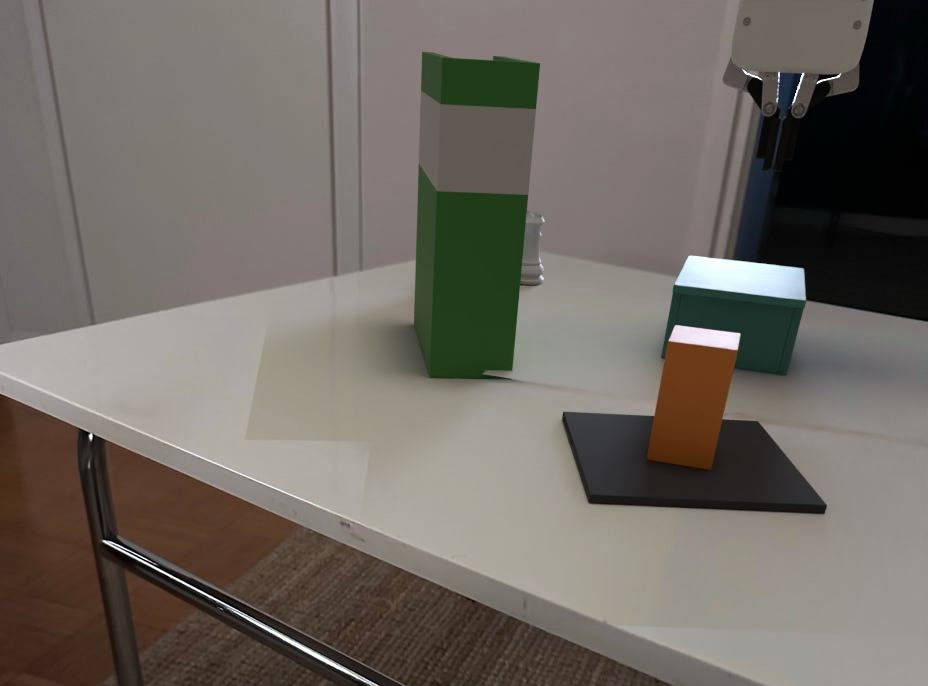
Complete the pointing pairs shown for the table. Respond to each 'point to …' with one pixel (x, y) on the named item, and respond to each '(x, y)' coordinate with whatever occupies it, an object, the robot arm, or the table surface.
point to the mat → (686, 468)
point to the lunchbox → (742, 328)
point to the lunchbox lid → (742, 281)
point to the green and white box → (472, 210)
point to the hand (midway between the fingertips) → (771, 169)
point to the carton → (692, 396)
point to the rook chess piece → (532, 250)
